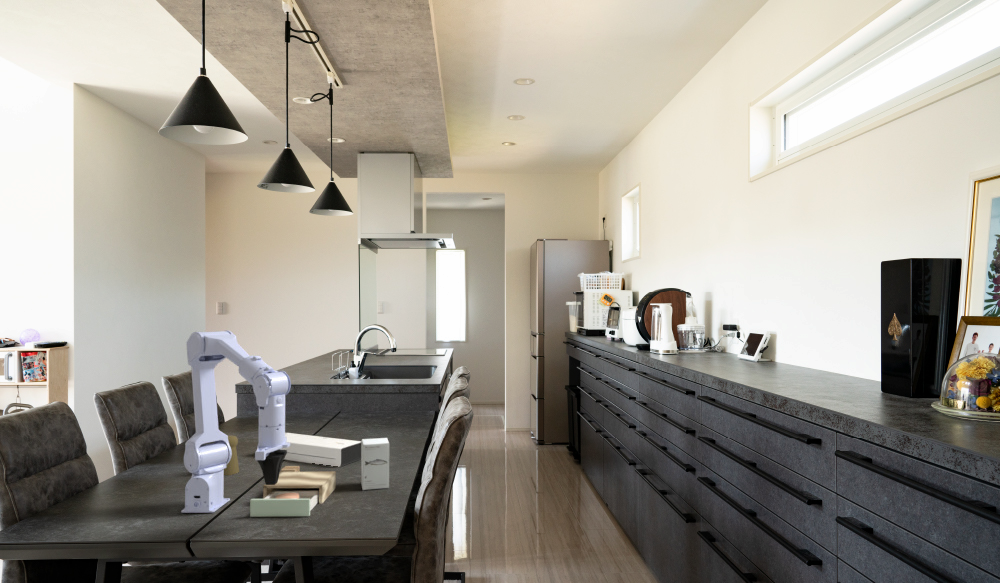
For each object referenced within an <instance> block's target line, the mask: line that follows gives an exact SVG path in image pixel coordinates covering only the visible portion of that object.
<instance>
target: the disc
mask: <svg viewBox="0 0 1000 583" xmlns="http://www.w3.org/2000/svg"><path fill="white" fill-rule="evenodd" d="M275 499H299V494H298V493H284V494H280V495H277V496H276V497H275Z"/></svg>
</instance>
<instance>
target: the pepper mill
mask: <svg viewBox="0 0 1000 583" xmlns="http://www.w3.org/2000/svg"><path fill="white" fill-rule="evenodd" d="M227 436H228V442H229V445H230V447H231V451H232V456H231V459H230V461H229V463H228V464H226V468H224V475H226V476H232V474H233V475H236V473H237V474H239V473H240V467H239V460H238V452H237V451H238V450H237V446H238V444H239V439H238V437H237V436H235V435H227ZM238 472H239V473H238Z"/></svg>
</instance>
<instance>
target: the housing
mask: <svg viewBox="0 0 1000 583" xmlns="http://www.w3.org/2000/svg"><path fill="white" fill-rule="evenodd" d="M336 472H337V471H333V470H331V471H321V470H320V471H300V472H281V471H280V474H279V478H278V482H277V483H276V484H275V485H266V483H265V484H263V486H262V488H263V490H262V495H263V496H262V499H264V498H265V497H266V496H268V495H269V494H270V493H271V492H272V491H284V490H318V491H319V502H318V504H324V502H325V501H326V500H327V499H328V498H329V496H330V495H331V494H332V493H333V492H334V491H335V489H336V474H337V473H336Z"/></svg>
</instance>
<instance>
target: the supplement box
mask: <svg viewBox="0 0 1000 583" xmlns="http://www.w3.org/2000/svg"><path fill="white" fill-rule="evenodd" d="M388 439H389V438H388V437H380V438H379V437H378V438H362V439H361V460H360V461H361V462H360V463H361V464H360V466H361V468H360V472H361V473H360V483H361V488H362V491H366V490H377V489H378V490H379V489H389V488H390V442H389V440H388Z"/></svg>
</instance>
